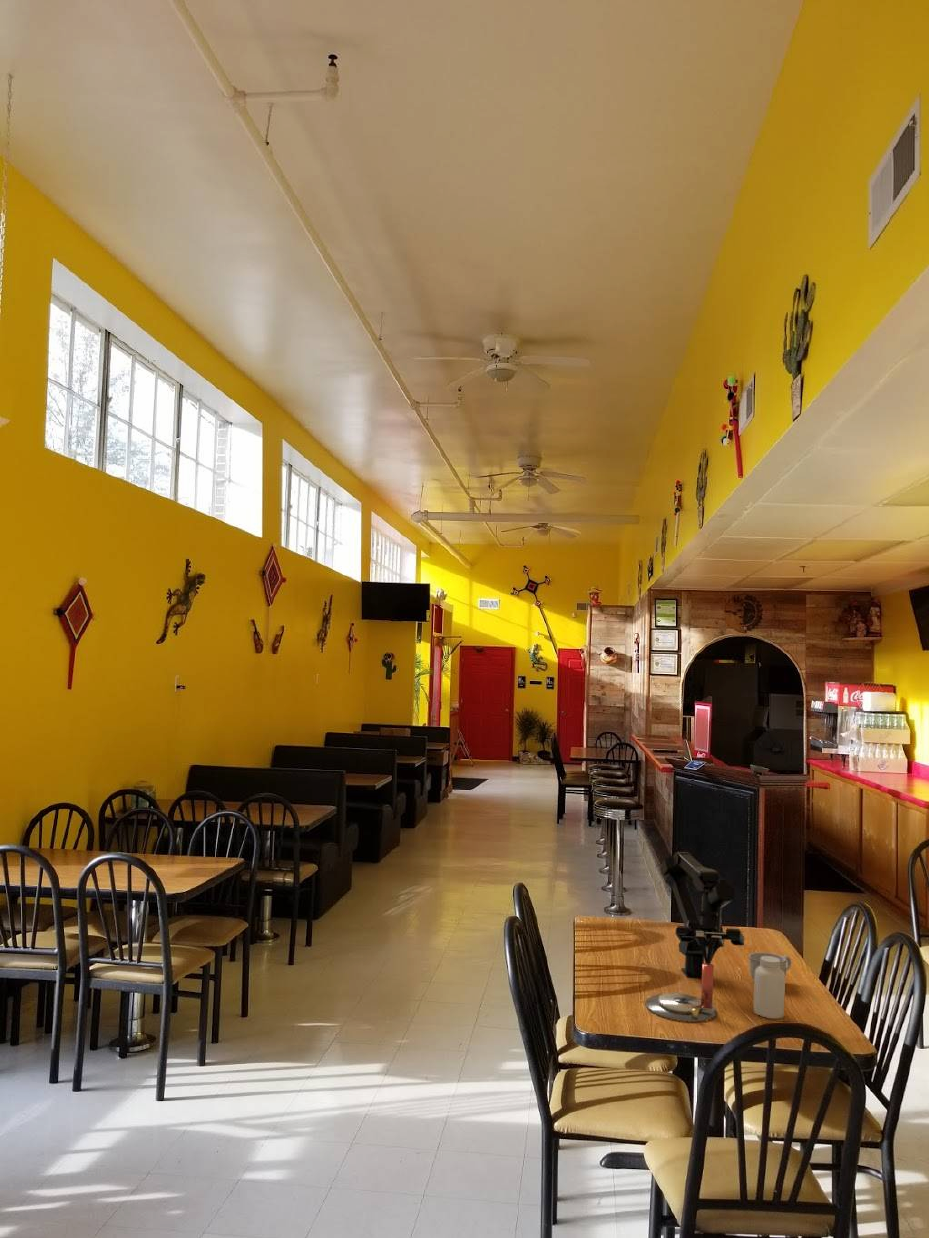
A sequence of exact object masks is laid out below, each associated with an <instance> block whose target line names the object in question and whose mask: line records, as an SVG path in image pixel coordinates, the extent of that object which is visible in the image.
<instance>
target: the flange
mask: <svg viewBox="0 0 929 1238" xmlns="http://www.w3.org/2000/svg"><path fill="white" fill-rule="evenodd" d="M714 970H715V969H714V965H713V963H710V964H709V963H705V962H704V963H703V964H702V977H701V990H700V997H701V998H698V997H695V996H693V995H690V994H685V993H679V992H671V993H669V992H668V993H667V992H666V993H663V994H662V995H660V996H659V1001H658V1003H659V1005H660V1006H661V1007H662V1008H664V1009H666V1010H669V1011H672V1012H676V1013H682V1014H692V1009H693V1008H697V1009H699V1012H701V1011H702V1012H704V1013H709V1014H713V1013H714V1011H715V1009H716V1005H715V1004H713V997H714V994H713V993H714ZM700 999H701V1000H700ZM699 1012H698V1013H699Z"/></svg>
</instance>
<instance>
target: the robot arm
mask: <svg viewBox="0 0 929 1238" xmlns="http://www.w3.org/2000/svg"><path fill="white" fill-rule="evenodd" d="M659 871H660V875H662V878H663V880H664V883H666V884H667V885H668V886H669V887H671V888H672V891H673V895H674V897H675V900H676V904H677V906H678V908H679V909H678V910H679V912H680V916H681V919H682V922H683V925H678V926H677V927H675V937H677V938H678V940H679V942H678V951H679V953H681V954H682V955H683V956H684V968H683V967H681V968H680V971H681V972H682V973H683V974H684V975H685V976H686V977H688V978H702V964H703V963H709V964H712V960H713V959H714V956H715V954H716V953H717V951H718V950H719V949H720V948H724V946H725V940H727V941H730V943H731V944H732V945H733V946H740V947H741V946H742V947H743V946H744V945H745V936H744V935H743V933H742V930H740V929H739V928H730V927H729V928H726V929H725V932H724V928H723V922H722V908H724V907H725V906H727V905H728V904H729V903H730V902H732V901H733V900H734V898H735V896H736V892H735V889H734V888H733V887H732V885H731V884H730V883H728V882H727V881H726V878H722V876H721V875H720V873H719V872H718V871H717V870H715V869H713V868H709V867H706V866H703V865H702V863H700V862H699V861H698V860H697V859H696V858H694V857H693V855H692V853H691V852H687V851H677V852H675V853H674V854H673V855H672V856H669V857H667V858H666V859H664V860H663V862H662V863H661V864H660V870H659ZM689 876H690V877H691V879H692V884H693V886H694V887H695V889H696V890H698V891H705V892H704V893H703V894H702V896H701V899H700V900H701V910H700V912H699V913H700V918H699V915H698V913H697V909H696V907H695V906H696V905H695V903H694V902H693V897H692V895H691V892H690V889H689V886H688V883H687V881H688V878H689Z"/></svg>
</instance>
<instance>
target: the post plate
mask: <svg viewBox="0 0 929 1238" xmlns="http://www.w3.org/2000/svg"><path fill="white" fill-rule="evenodd" d="M660 995H662V994H660V993H659V994H655V995H651V996H650V997H648V998H646V1000H645V1008H646V1009H647V1010H648V1011H649V1012H650V1013H652V1014H653V1015H655V1014H656V1015H655V1016H658V1017H660V1016H661V1018H663V1019H666V1018H667V1019H666V1020H670V1019H672V1020H671V1021H674V1020H679V1021H678V1022H680V1021H686V1022H685V1023H701V1022H700V1021H705V1022H707V1021H706V1020H709V1021H711V1020H714V1017H715V1018H716V1016H717V1009H716V1008H715V1011H714V1013H713V1014H709V1013H704V1012H702V1011H701V1012H699V1009H697V1008H693V1009H692V1014H682V1013H676V1012H672V1011H669V1010H666V1009H664V1008H662V1007H661V1006H660V1005H659V1003H658V1001H659V996H660ZM699 999H700V1000H701V998H699ZM698 1012H699V1013H698ZM710 1019H711V1020H710ZM689 1021H690V1022H689Z"/></svg>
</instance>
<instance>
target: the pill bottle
mask: <svg viewBox="0 0 929 1238" xmlns="http://www.w3.org/2000/svg"><path fill="white" fill-rule="evenodd" d="M780 962H781V961H780V959H778V958H776V957H772V956H762V957H761V958H760V965H761V966H758V967H757V968H756V970H755V980H753V981H754V983H753V985H754V986H753V988H754V989H753V1007H752V1008H753V1012H754V1013H755V1014H756V1015H757V1016H759V1015H760V1017H762V1018H765V1017H766V1019H773V1020H774V1019H775V1020H776V1019H778V1020H779V1019H782V1018H783V1017H784V1014H785V993H786V991H785V989H786V978H785V974H784V972H783V971H782V970H781V969H780Z"/></svg>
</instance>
